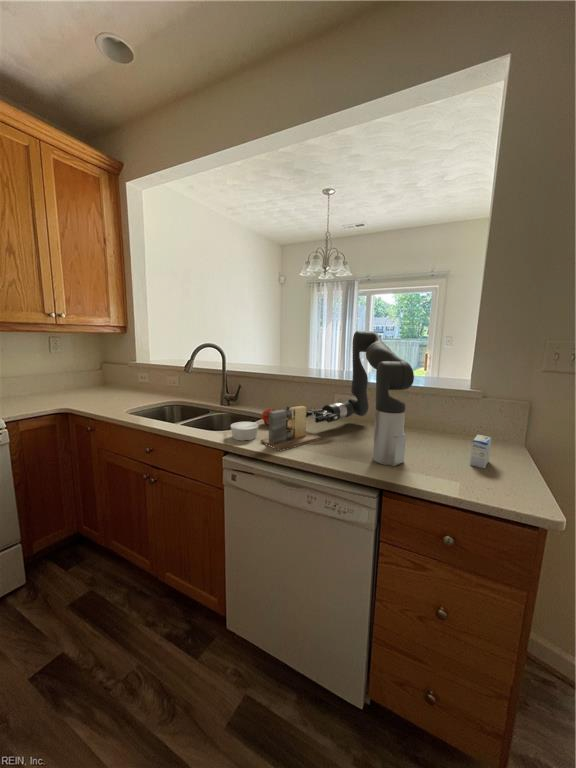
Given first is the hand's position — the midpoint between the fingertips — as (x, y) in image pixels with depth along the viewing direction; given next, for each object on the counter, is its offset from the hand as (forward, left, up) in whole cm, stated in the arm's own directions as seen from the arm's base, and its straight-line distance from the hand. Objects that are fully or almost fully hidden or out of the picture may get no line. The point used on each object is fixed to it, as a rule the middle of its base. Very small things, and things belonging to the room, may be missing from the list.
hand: (308, 417), depth 130 cm
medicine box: (-56, -25, -8) cm, 62 cm away
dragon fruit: (+22, +2, -8) cm, 23 cm away
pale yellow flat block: (0, +8, -7) cm, 10 cm away
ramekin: (+15, +21, -8) cm, 27 cm away
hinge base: (0, +9, -8) cm, 12 cm away
